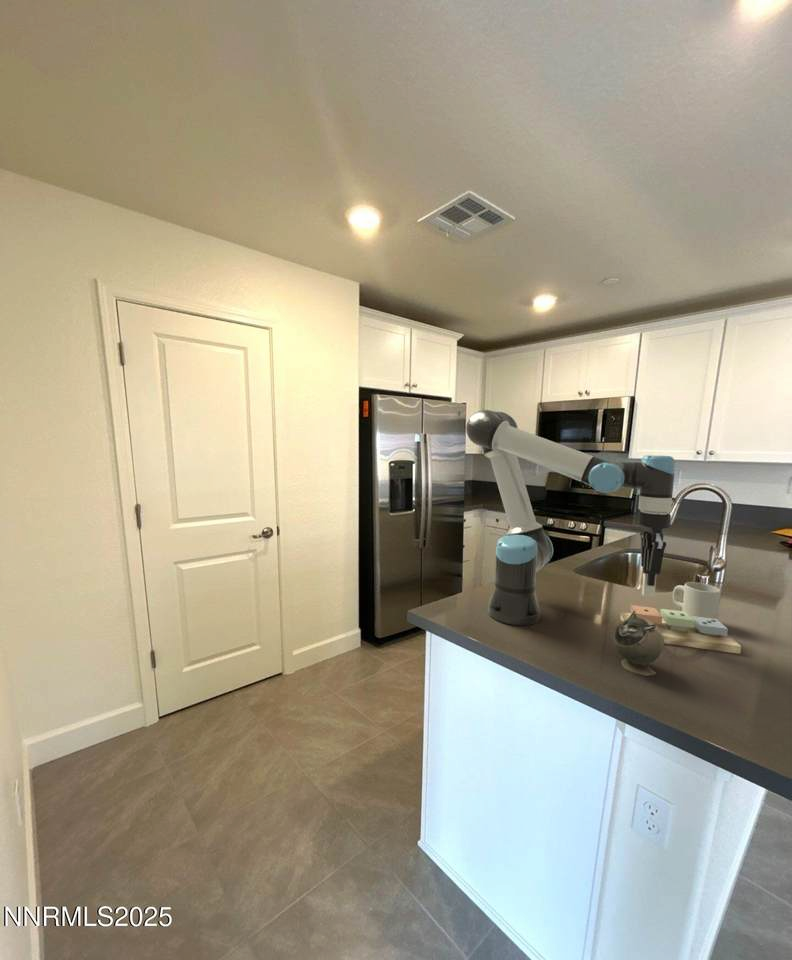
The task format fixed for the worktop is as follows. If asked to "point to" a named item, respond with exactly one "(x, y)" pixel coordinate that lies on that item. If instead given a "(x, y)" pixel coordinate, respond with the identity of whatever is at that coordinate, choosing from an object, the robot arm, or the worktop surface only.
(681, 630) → the sage tile
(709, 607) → the mug
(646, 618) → the terracotta tile
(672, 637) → the board
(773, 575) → the worktop surface
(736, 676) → the worktop surface
